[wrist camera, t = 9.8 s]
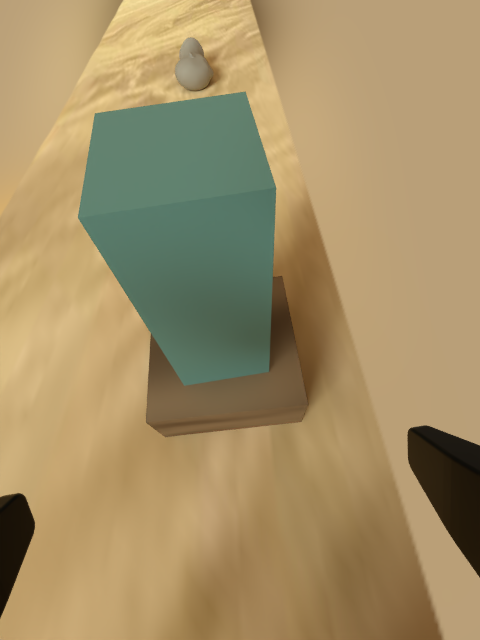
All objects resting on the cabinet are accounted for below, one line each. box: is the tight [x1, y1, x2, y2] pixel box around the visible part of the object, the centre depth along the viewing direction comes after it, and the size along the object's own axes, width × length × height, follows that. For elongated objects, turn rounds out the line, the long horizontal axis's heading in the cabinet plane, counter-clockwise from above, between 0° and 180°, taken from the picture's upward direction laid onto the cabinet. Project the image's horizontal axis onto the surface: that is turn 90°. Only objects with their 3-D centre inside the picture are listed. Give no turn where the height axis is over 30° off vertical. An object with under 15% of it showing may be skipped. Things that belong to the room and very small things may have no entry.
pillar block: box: [78, 92, 276, 386], centre depth 15 cm, size 5×5×12 cm
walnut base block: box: [146, 276, 308, 437], centre depth 22 cm, size 9×9×4 cm
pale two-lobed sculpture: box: [175, 38, 214, 91], centre depth 45 cm, size 4×8×5 cm
